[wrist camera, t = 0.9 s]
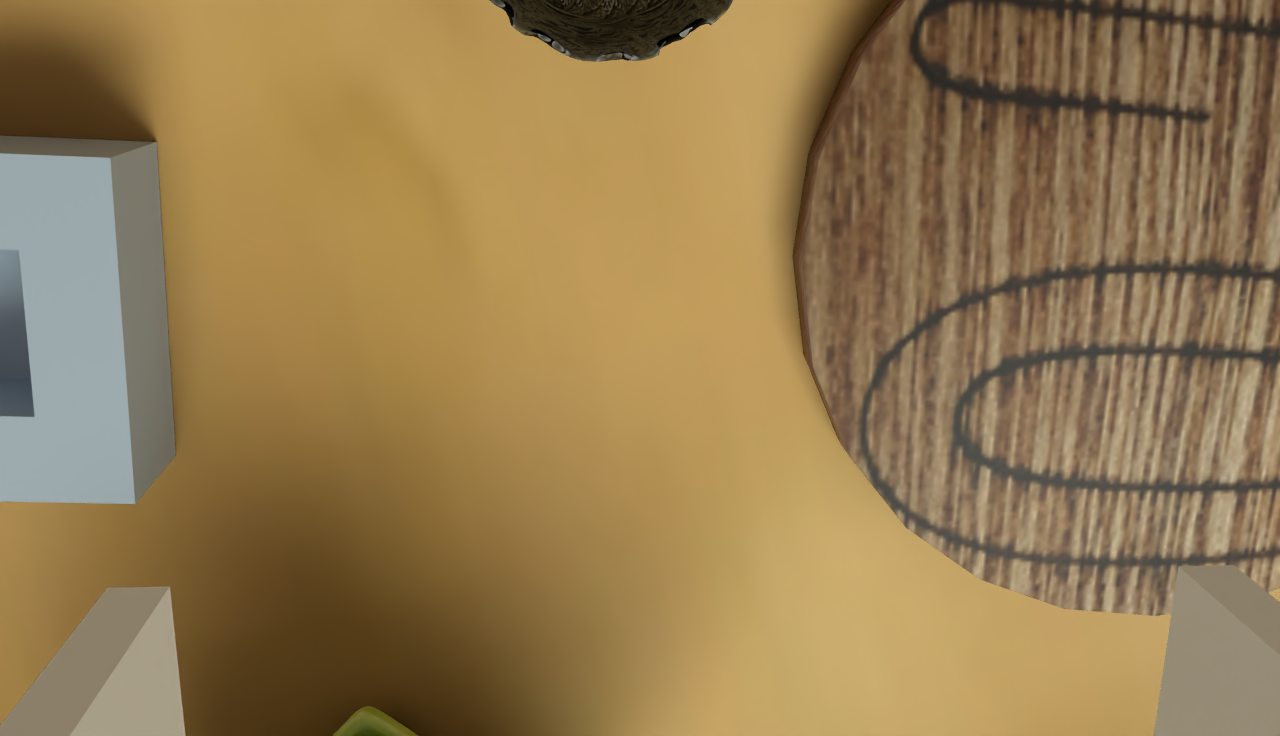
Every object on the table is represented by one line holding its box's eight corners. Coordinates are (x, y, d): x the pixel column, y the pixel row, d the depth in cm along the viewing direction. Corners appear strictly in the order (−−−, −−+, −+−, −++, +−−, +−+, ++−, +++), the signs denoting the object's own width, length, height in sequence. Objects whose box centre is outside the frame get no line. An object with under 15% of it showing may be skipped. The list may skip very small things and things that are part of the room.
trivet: (799, -168, 36) (812, -177, 34) (1612, -173, 37) (1666, -182, 35) (783, 606, 43) (793, 632, 41) (1466, 575, 44) (1505, 599, 43)
